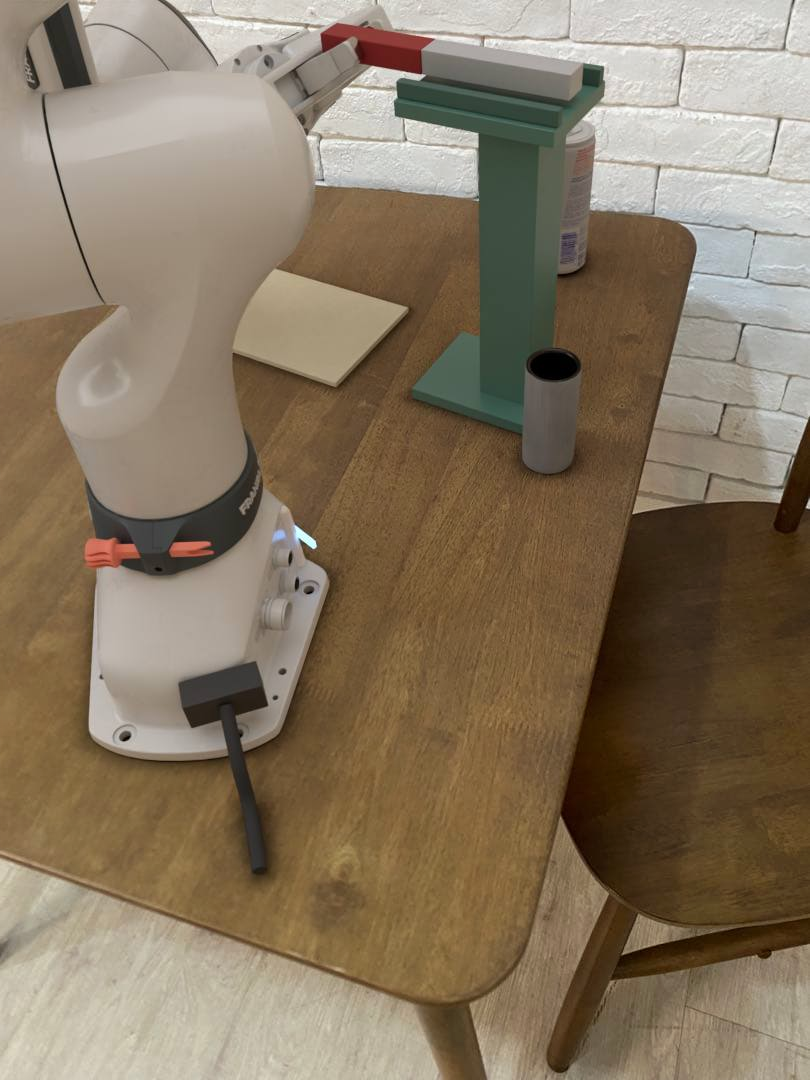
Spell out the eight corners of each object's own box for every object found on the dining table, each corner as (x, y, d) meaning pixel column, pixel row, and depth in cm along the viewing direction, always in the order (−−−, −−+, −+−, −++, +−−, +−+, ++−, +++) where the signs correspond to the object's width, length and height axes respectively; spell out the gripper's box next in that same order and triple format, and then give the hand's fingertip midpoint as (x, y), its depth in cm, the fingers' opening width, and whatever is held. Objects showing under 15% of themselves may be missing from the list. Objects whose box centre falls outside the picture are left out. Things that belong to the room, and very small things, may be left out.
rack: (580, 376, 90) (610, 60, 69) (535, 439, 85) (552, 117, 63) (461, 341, 95) (454, 35, 74) (412, 398, 90) (388, 86, 68)
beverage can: (584, 249, 105) (595, 115, 94) (585, 277, 102) (597, 141, 90) (534, 249, 106) (539, 116, 95) (533, 277, 102) (539, 142, 91)
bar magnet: (582, 88, 67) (584, 62, 66) (568, 101, 66) (570, 75, 65) (339, 46, 75) (336, 22, 74) (322, 57, 74) (319, 33, 73)
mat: (408, 312, 99) (408, 307, 99) (336, 387, 92) (335, 383, 91) (231, 259, 109) (230, 255, 108) (151, 324, 101) (150, 320, 100)
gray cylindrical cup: (513, 466, 83) (516, 373, 75) (533, 434, 85) (538, 341, 78) (561, 480, 81) (569, 387, 74) (580, 448, 84) (590, 354, 76)
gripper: (161, 119, 75) (266, 50, 65) (307, 27, 86) (416, -44, 76) (207, 192, 78) (314, 136, 68) (342, 93, 89) (451, 33, 79)
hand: (369, 40), depth 72 cm, fingers closed on bar magnet, 2 cm apart
